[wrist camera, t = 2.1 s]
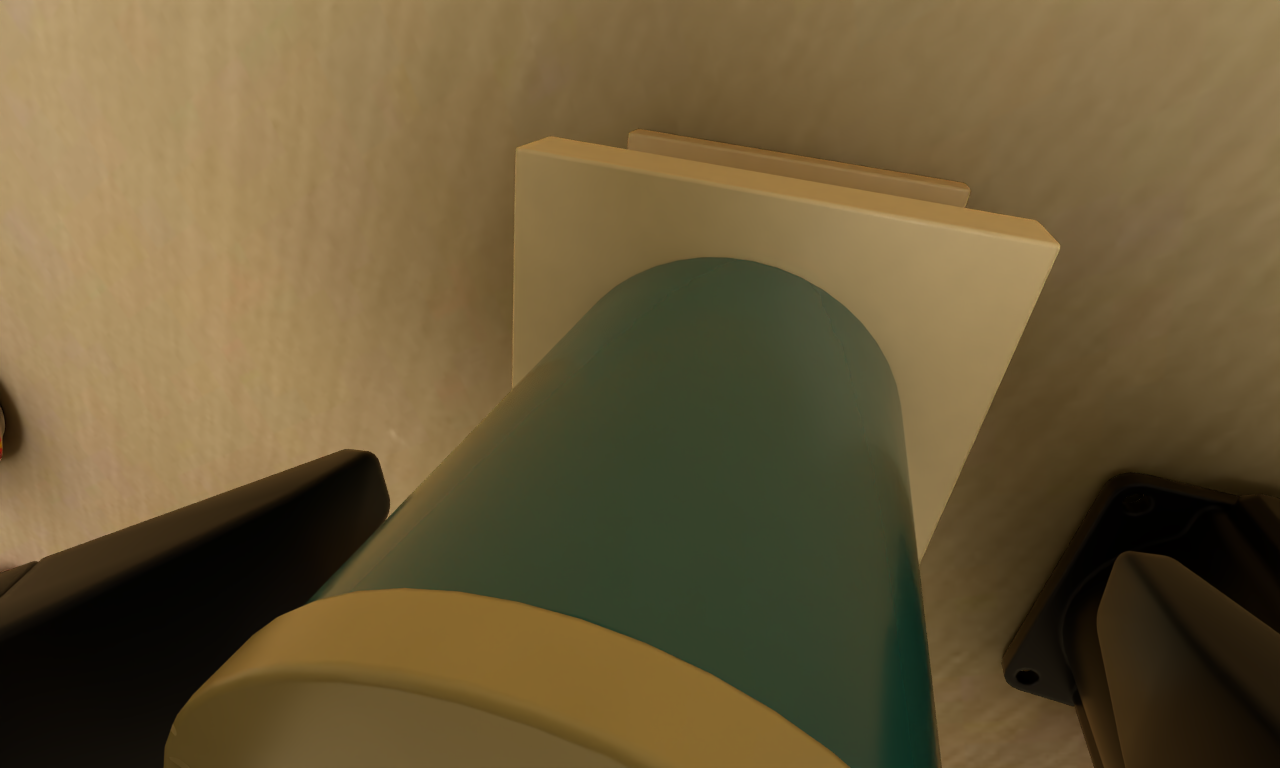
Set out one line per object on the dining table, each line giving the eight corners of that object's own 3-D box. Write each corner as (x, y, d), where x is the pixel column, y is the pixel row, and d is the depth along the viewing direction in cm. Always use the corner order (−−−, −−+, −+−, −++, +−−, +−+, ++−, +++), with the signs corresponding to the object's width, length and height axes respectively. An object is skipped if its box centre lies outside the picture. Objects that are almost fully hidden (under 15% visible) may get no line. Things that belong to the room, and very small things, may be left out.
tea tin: (850, 596, 11) (840, 1268, 5) (549, 509, 12) (243, 978, 6) (967, 294, 8) (1245, 972, 2) (564, 214, 9) (42, 541, 3)
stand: (878, 475, 15) (885, 643, 11) (597, 403, 17) (508, 529, 12) (991, 168, 12) (1063, 245, 8) (624, 109, 13) (513, 146, 9)
